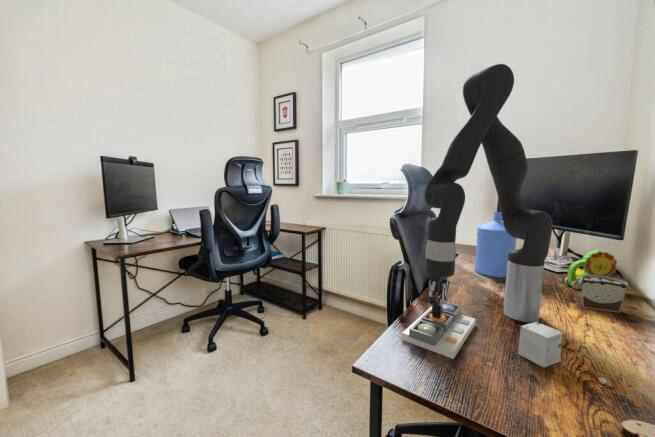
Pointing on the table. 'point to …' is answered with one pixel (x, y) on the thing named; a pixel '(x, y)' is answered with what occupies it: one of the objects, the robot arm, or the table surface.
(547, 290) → the table surface
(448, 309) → the slate blue button
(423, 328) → the sage green button
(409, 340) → the button panel
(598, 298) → the food container
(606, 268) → the toy lion
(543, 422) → the table surface
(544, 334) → the skincare box
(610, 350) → the table surface
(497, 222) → the water jug
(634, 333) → the table surface
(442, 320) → the orange button
